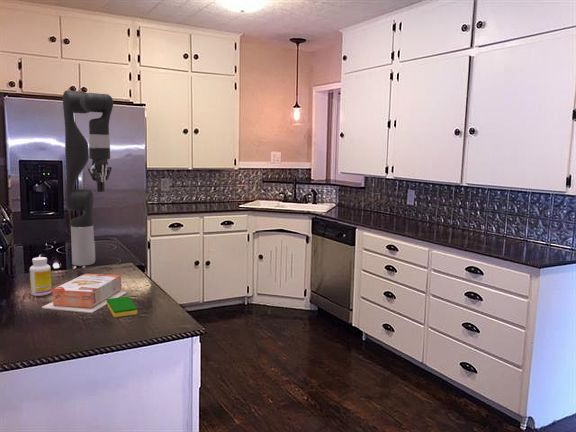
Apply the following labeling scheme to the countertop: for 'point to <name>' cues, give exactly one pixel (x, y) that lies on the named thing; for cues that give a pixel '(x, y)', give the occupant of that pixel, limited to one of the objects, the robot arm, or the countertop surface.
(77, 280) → the cracker box
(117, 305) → the dish sponge
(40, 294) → the supplement bottle
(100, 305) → the mat
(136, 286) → the countertop surface
